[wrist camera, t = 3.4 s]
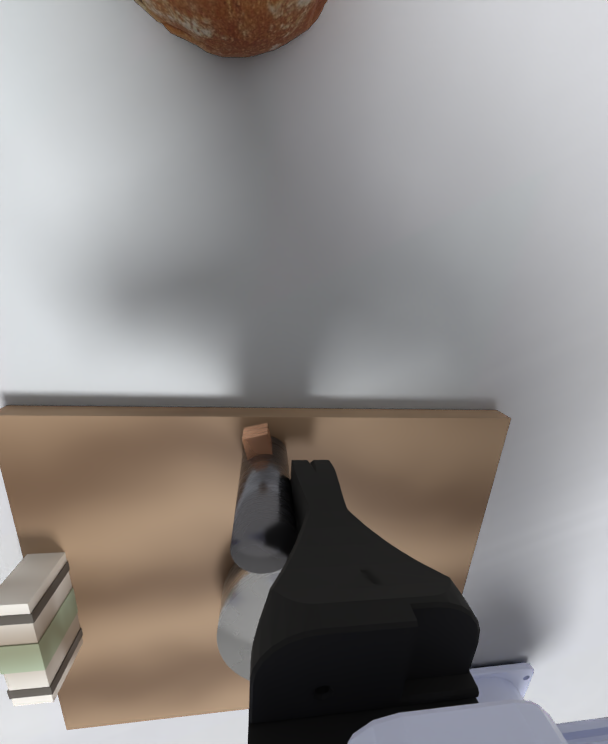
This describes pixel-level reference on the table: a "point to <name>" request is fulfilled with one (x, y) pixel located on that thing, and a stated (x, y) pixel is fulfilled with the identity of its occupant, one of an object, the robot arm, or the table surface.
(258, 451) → the grey metal rounded piece
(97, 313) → the table surface
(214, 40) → the bread roll
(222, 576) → the stand board
